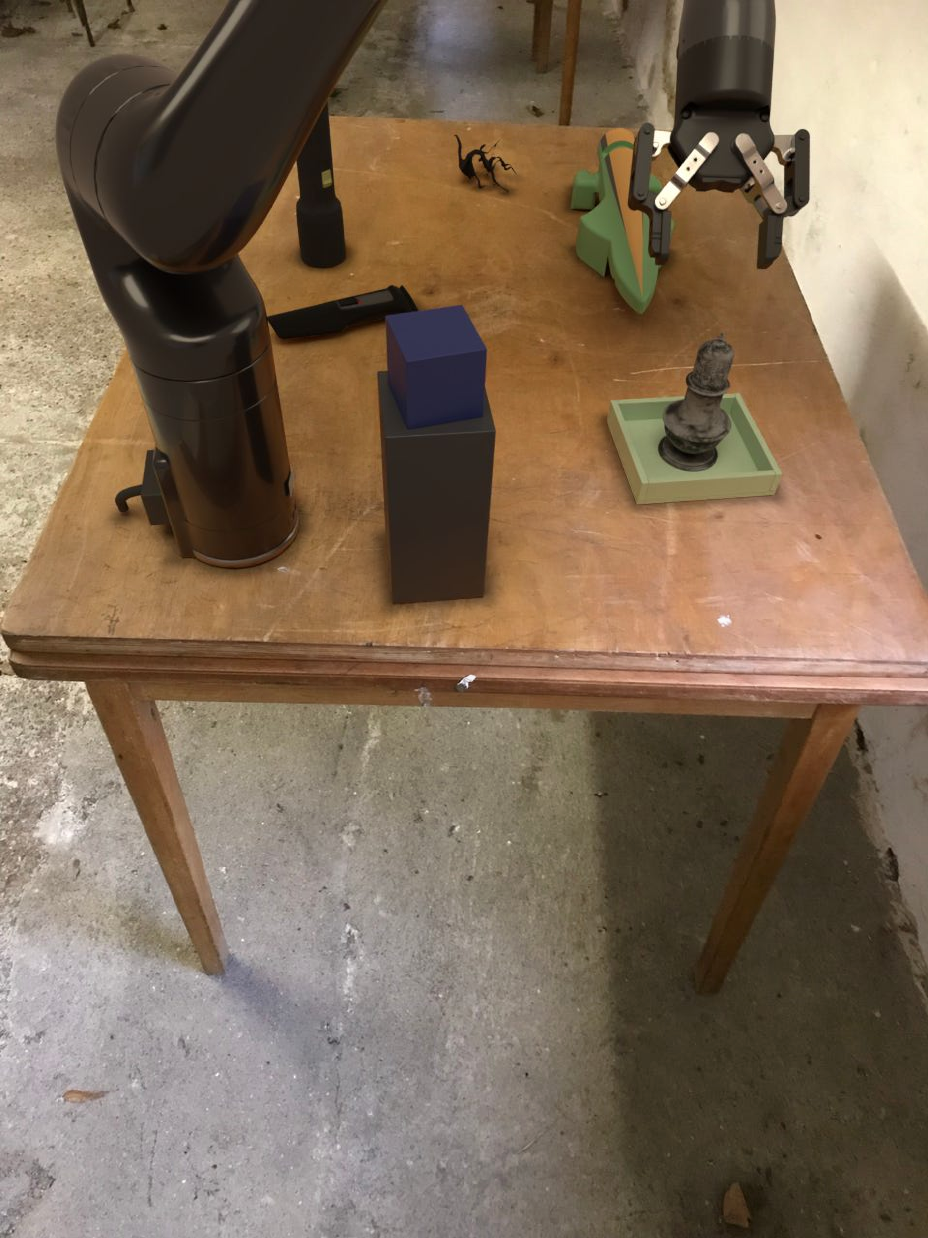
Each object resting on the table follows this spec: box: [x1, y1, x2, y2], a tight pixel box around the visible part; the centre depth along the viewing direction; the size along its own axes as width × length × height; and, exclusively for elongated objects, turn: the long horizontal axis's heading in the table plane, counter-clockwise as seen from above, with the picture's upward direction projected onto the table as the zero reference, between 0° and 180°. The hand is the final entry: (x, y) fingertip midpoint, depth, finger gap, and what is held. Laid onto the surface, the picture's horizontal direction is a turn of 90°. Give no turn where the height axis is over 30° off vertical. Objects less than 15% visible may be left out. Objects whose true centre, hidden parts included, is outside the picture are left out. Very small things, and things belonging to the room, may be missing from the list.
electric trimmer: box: [267, 284, 419, 340], centre depth 90 cm, size 4×16×3 cm, turn 115°
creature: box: [453, 134, 517, 192], centre depth 111 cm, size 8×5×8 cm
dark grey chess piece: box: [658, 332, 735, 472], centre depth 75 cm, size 6×6×12 cm
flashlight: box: [295, 99, 347, 269], centre depth 91 cm, size 5×24×5 cm
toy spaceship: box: [570, 127, 675, 315], centre depth 99 cm, size 32×10×7 cm, turn 179°
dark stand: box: [376, 370, 497, 605], centre depth 64 cm, size 7×7×16 cm
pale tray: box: [606, 392, 783, 505], centre depth 79 cm, size 12×11×2 cm
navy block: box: [384, 304, 488, 430], centre depth 56 cm, size 5×5×5 cm
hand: (713, 264), depth 74 cm, fingers open, 8 cm apart
